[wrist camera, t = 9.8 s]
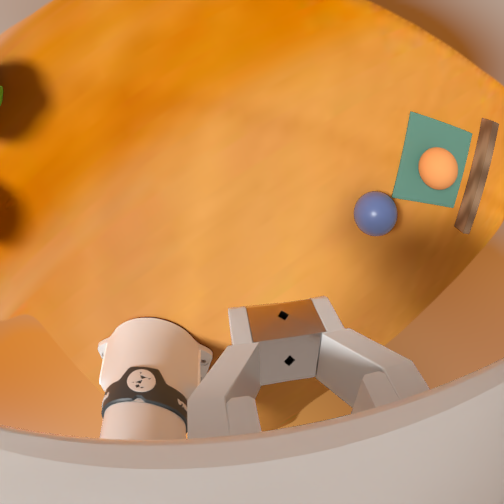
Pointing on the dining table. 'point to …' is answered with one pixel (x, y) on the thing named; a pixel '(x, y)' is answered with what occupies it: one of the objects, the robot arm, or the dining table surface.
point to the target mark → (416, 143)
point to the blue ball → (375, 213)
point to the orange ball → (438, 168)
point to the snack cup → (1, 94)
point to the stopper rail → (477, 175)
